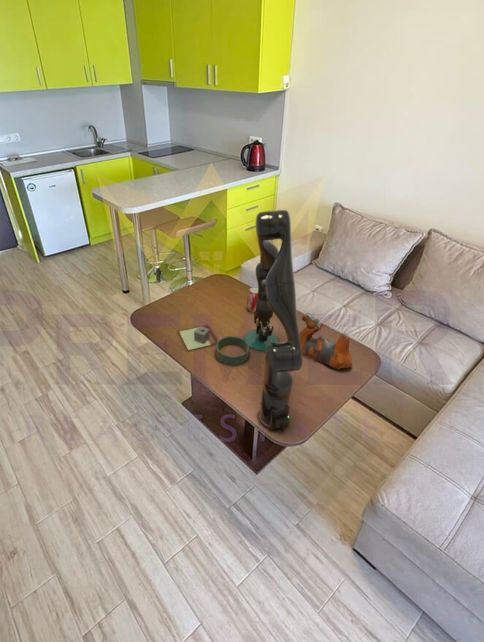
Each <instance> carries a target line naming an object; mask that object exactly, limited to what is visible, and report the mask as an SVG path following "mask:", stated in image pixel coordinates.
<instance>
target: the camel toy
mask: <svg viewBox="0 0 484 642" xmlns="http://www.w3.org/2000/svg"><path fill="white" fill-rule="evenodd" d="M301 320H302V321H303V322H305V325H306V327H304V328H303V329H302V330H301V331H299V336H300V342H301V349H302V356H303V357H307V358H309V359H311V360H314V361H317V362H320V363H323V364H325V365H327V366H329V367H331V368H333V369H336V370H340V369H348V368H352V367H353V359H352V356H351V353H350V335H349V334H348V333H346V332H343V333H341V334H340V335H339V337H338V339H337V341H336V342H332V341H330V340H329V339H328V338H327V337H326V336H325V335H320V336H318V337H317V338H314V337H313V335H315V334H316V333H318V332H319V331H320V330H321V329H322V327H323V326H324V324H323V322H321V321H320V319H319V318H315V317H314V316H313V315H312V314H311V313H310V312H306V313H304V314H303V315H302V316H301Z"/></svg>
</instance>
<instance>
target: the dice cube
mask: <svg viewBox="0 0 484 642" xmlns="http://www.w3.org/2000/svg"><path fill="white" fill-rule="evenodd" d="M196 328H197V329H196V330H195V331H194V341H197V342H199V343H202V344H204V343H205V342H206V341H207V340H209V339H210V328H207V327H204V326H201V325H199V326H198V327H196Z"/></svg>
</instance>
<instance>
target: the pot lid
mask: <svg viewBox="0 0 484 642" xmlns="http://www.w3.org/2000/svg"><path fill="white" fill-rule="evenodd" d="M265 332H266V330H265ZM262 336H263V331H262V330H261V328H259V334H257V333H256V329H254V330H250V331H248V332H247V333H246V334H245V336H244V340H245V341H246V342H247V343H248V344H249V348H250V349H252V350H255V351H258V352H266V348H267V345H268V344H269V343H275V342H279V339H278V337H277V335H276V334H274V333H273V332H272V334H271V336H268V338H267V341H265V342H263V341H262Z"/></svg>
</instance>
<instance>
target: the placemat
mask: <svg viewBox="0 0 484 642" xmlns="http://www.w3.org/2000/svg"><path fill="white" fill-rule="evenodd" d="M197 328H198V327H194V328H189V329H185V330H180V331H178V332H179V335H180V338H181V339H182V341H183V343H184V345H185V347H186V349H187V351H192V350H197V349H202V348H205V347H209V346H212V344H211V342H210V340H209V339H208V340H207V341H206V342H205V343H204V344H202V343H199V342H197V341H194V331H195V330H196V329H197Z"/></svg>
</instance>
